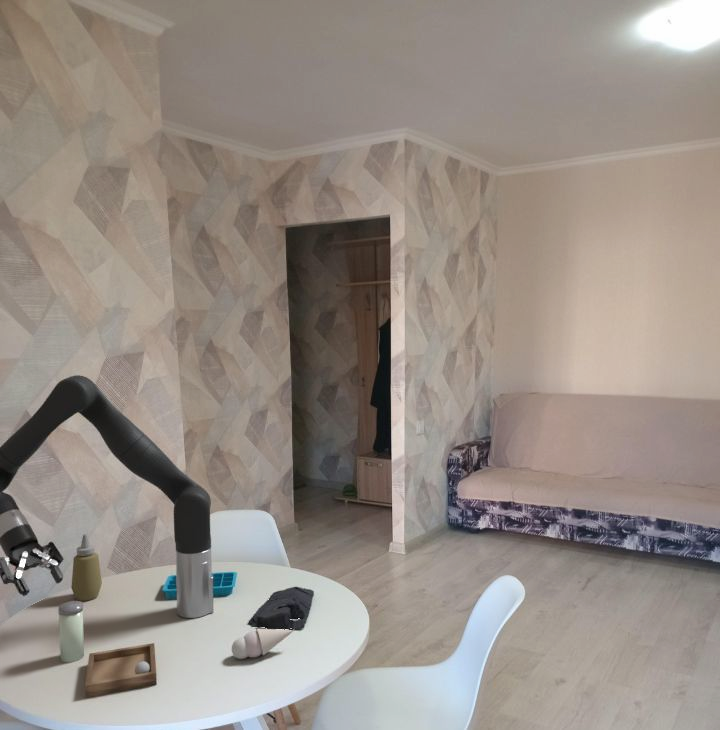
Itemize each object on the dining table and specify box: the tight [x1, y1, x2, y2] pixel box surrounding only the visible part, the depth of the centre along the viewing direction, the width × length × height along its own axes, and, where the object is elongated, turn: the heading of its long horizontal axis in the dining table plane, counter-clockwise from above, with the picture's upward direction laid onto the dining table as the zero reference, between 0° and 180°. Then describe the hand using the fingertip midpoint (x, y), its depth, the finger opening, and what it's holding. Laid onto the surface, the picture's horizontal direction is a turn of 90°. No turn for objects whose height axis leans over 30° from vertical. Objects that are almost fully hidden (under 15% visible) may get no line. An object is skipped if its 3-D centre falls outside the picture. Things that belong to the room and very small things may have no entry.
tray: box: [84, 642, 158, 698], centre depth 140 cm, size 14×14×2 cm
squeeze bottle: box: [70, 533, 103, 602], centre depth 180 cm, size 8×8×18 cm
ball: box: [135, 661, 150, 674], centre depth 137 cm, size 3×3×3 cm
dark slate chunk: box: [247, 586, 315, 630], centre depth 171 cm, size 15×22×5 cm
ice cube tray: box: [161, 571, 238, 599], centre depth 186 cm, size 12×20×3 cm, turn 98°
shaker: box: [57, 600, 85, 664], centre depth 147 cm, size 5×5×12 cm
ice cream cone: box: [231, 628, 295, 660], centre depth 148 cm, size 6×6×15 cm
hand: (43, 587), depth 152 cm, fingers open, 8 cm apart
